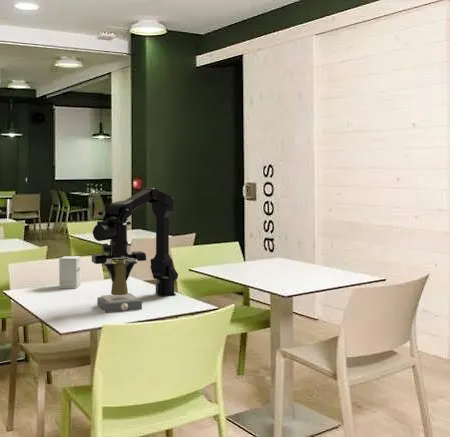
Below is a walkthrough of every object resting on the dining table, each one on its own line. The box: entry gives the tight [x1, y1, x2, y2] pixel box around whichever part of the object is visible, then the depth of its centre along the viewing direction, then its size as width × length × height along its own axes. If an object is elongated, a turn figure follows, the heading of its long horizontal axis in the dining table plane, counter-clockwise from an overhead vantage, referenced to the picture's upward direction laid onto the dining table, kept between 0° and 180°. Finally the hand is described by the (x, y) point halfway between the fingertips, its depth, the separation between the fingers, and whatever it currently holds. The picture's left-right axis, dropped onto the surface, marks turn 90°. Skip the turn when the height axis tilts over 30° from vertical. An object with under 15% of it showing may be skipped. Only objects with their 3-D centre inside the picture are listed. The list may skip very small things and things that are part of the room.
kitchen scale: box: [97, 292, 143, 313], centre depth 223 cm, size 13×12×4 cm
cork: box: [110, 262, 129, 295], centre depth 222 cm, size 6×6×11 cm
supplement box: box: [58, 255, 81, 289], centre depth 259 cm, size 7×7×13 cm
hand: (119, 281), depth 223 cm, fingers closed on cork, 4 cm apart
